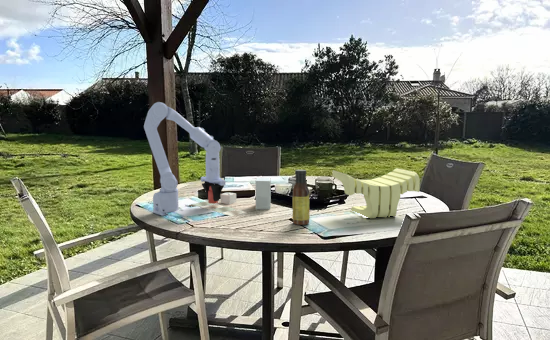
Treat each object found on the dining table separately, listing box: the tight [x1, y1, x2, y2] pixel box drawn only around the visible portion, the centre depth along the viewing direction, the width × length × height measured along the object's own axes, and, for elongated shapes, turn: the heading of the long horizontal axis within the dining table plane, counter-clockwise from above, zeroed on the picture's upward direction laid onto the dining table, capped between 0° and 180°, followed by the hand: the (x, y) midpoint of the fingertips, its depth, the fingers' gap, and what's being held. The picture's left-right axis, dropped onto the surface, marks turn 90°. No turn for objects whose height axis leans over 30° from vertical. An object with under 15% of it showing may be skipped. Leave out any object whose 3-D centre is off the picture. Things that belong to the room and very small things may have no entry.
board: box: [188, 200, 248, 217], centre depth 154 cm, size 10×28×1 cm, turn 46°
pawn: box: [207, 186, 219, 205], centre depth 155 cm, size 4×4×8 cm
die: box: [220, 192, 237, 205], centre depth 164 cm, size 5×5×5 cm
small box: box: [255, 177, 272, 210], centre depth 156 cm, size 8×6×13 cm
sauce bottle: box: [292, 169, 311, 226], centre depth 135 cm, size 6×6×20 cm
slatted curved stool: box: [332, 167, 421, 219], centre depth 148 cm, size 30×16×18 cm, turn 106°
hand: (213, 200), depth 156 cm, fingers closed on pawn, 4 cm apart
